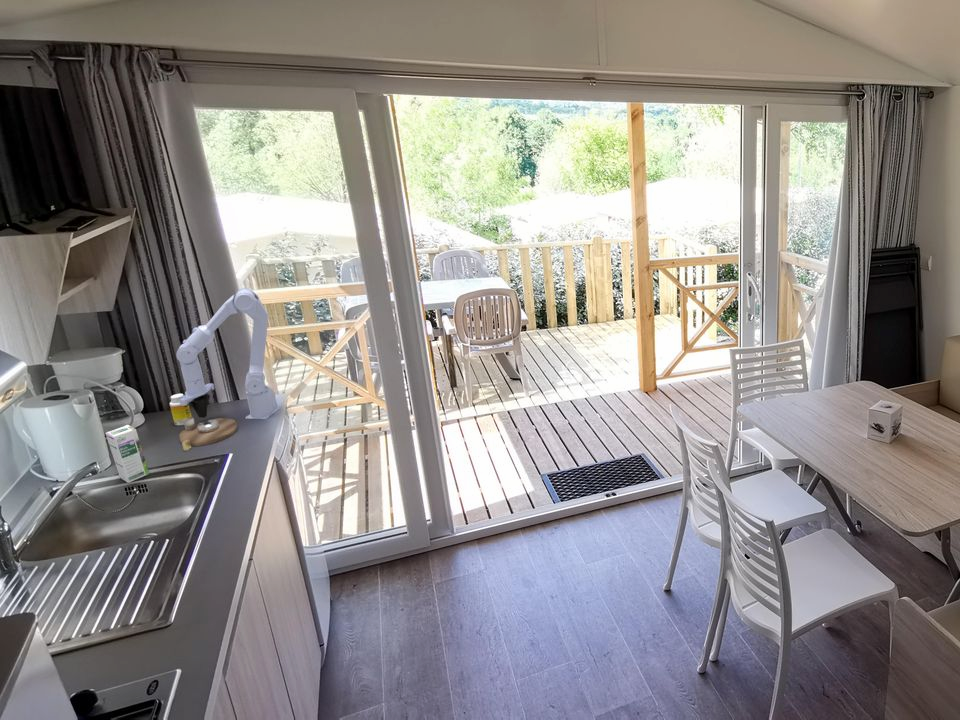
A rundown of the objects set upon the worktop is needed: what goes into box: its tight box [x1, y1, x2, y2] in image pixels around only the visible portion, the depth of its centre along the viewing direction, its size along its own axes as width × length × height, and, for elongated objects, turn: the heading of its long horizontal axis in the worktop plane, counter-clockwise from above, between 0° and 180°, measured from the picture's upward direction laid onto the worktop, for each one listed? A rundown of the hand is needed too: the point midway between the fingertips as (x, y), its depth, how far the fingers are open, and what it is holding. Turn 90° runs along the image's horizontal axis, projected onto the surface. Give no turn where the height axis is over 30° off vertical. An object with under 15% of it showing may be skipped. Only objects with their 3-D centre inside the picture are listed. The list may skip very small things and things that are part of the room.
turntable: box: [178, 416, 238, 447], centre depth 175 cm, size 17×17×5 cm
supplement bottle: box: [169, 393, 193, 426], centre depth 185 cm, size 6×6×10 cm
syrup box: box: [105, 424, 150, 484], centre depth 150 cm, size 6×6×14 cm
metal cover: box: [198, 419, 219, 433], centre depth 175 cm, size 6×6×2 cm
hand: (202, 416), depth 182 cm, fingers closed
